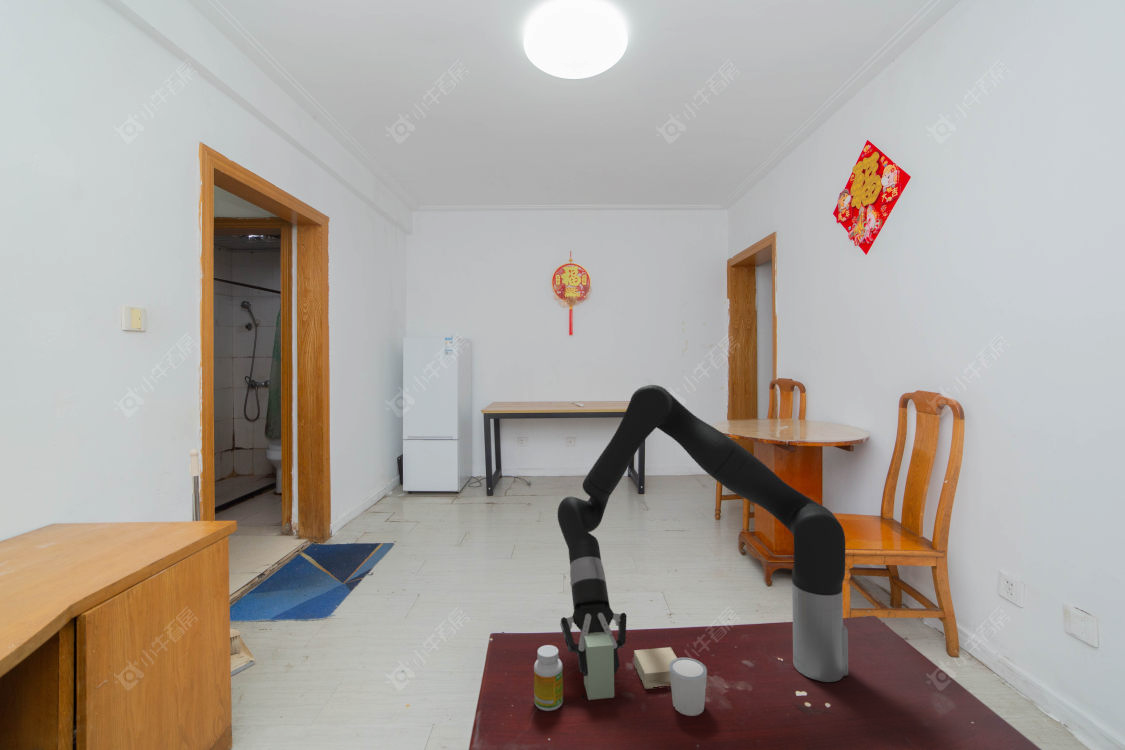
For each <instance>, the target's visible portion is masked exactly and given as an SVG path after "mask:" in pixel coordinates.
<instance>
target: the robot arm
mask: <svg viewBox="0 0 1125 750" xmlns="http://www.w3.org/2000/svg"><path fill="white" fill-rule="evenodd" d="M655 429H658V430H660V431H662V432H663V433H664V434H666V435H667V436H669V437H671V439H673V440H674V441H675V442H677V443H678V445H680V446H681V447H682V448H683V449H684V451H686V452H687V454H688V455H689V456H690V457H691V458H692V460H694V461H695V462H696V463H697V465H698V466H699V467H700V468H701V469H702V470H703V471H705V472H706V473H707V474H708V475H709V476H711V477H712V478H713V479H714V480H716V481H717V482H718V483H719V484H721V485H722V486H723V487H725V488H726V489H727V490H729V491H731V493H734V494H736V495H738V496H739V497H742V498H744V499H746V500H747V501H750V502H751V503H754V504H756V505H758V506H759V507H762V508H763V509H764V510H766V511H767V512H768V513H769V514H771V515H772V516H773V517H774V518H776V519H777V520H778V521H779V522H780V523H781V524H782V525H783V526H784V527H785V528H786V529H787V530H788V531H790V533H791V535H793V568H792V571H791V579H792V580H791V581H792V583H791V584H792V585H791V586H792V589H791V591H792V595H791V596H792V600H791V601H792V663H793V666H794V668H795V669H796V670H797V671H798V672H799V673H800V674H802V675H803V676H805V677H807V678H809V679H812V680H815V681H819V682H824V683H832V682H833V683H834V682H835V683H836V682H838V681H841V679H843V677H845V676H849V636H848V635H849V630H848V627H847V626H846V625H844V610H843V608H844V606H843V602H844V601H843V595H844V593H843V590H844V589H843V588H844V587H843V586H844V585H843V583H844V580H845V576H846V535H845V531H844V527H843V526H842V524H841V523H840V521H839V520H838V519H837V517H836V516H835V514H834V513H833V512H832V511H830V510H829V509H828V508H827V507H825V506H823V505H822V504H820V503H818V502H817V501H815V500H814V499H812V498H810V497H808V496H807V495H804V493H802V492H800V491H798V490H797V489H795V488H793V486H790V485H789V484H787V483H786V482H785V481H784V480H783V479H781V478H780V477H779V476H778V475H777V474H776V473H775V472H774V471H772V470H771V468H769V467H768V466H767V465H766V464H764V462H763V461H761V460H760V459H758V458H757V457H756V456H755V455H754V454H752V453H751V452H750V451H748V450H747V449H746V448H744V447H743V446H741V445H740V444H739V443H737V442H736V441H735V440H733V439H732V438H730V437H729V436H727V435H726V434H725V433H723V432H721V430H718V429H717V428H715V427H714V426H712V425H710V424H708V423H707V422H705V421H704V420H702V419H700V418H699V417H697V416H696V415H694V414H693V413H692V412H691V411H690V410H689V409H688V408H686V407H685V406H684V405H683V404H682V403H680V401H679V400H678V399H676V398H675V396H673V395H672V394H671V393H670V392H669V391H668V390H667V389H666V388H664V387H663V386H660V385H657V384H648V385H643V386H641V387H640V388H638V389H636V390H635V391H634V393H633V394H632V395H631V397H630V401H629V403H628V406H627V408H626V410H625V412H624V415H623V417H622V419H621V421H620V423H619V426H618V428H617V429H616V431H615V433H614V434H613V436H612V438H611V439H610V441H609V443H608V444H607V445H606V447H605V448H604V449H603V451H602V453H601V454H600V456H599V457H598V459H597V460H596V462H595V463H594V465H593V466H592V467H591V469H590V470H589V472H588V473H587V475H586V476H585V478H584V480H583V482H582V489H583V491H584V492H585V493H586V495H588V496H589V498H588V500H585V499H582V498H577V497H576V496H566V497H564V498H563V499H562V500H561V502H560V503H559V505H558V508H557V521H558V525H559V527H560V531H561V533H562V535H563V539H564V541H565V543H566V546H567V550H568V558H569V566H570V567H569V568H570V569H569V578H570V581H569V582H570V583H569V584H570V586H571V587H570V589H571V594H572V595H571V596H572V604H573V605H572V606H573V613H572V616H570V617H564V616H563V617H561V618H560V624H559V625H560V628H561V631H562V635H563V637H564V642H565V644H566V647H567V650H568V652H569V653H575V654H576V655H577V659H578V669H579V672H580V674H583V677H584V676H587V675H588V668H587V659H586V652H585V650H584V649H585V642H584V636H587V635H588V633H594V632H605V634H609V635H610V638H611V640H612V642H613V645H614V675H615V674H617V672H618V670H619V668H620V666H621V665H620V660H619V653H618V650H619V649H622V648H623V647H624V646H625V644H626V642H627V641H626V637H627V617H628V616H627V614H626V613H625V612H622V613H615V612H614V611H613V610H612V609H611V605H610V600H609V593H608V587H607V581H606V573H605V569H604V565H603V562H602V557H601V550H600V545H599V541H598V539H597V537H596V536H595V535H592V534H591V532H593V531H594V530H596V529H597V528H598V527H599V526H600V524H601V523H602V520H603V518H604V513H605V510H606V507H607V505H608V502H609V498H610V496H611V495H612V493H613V492H614V490H615V489H616V487H617V486H618V485H619V483H620V481H621V480H622V478H623V476H624V475H625V473H626V471H627V470H628V467H629V466H630V464H631V462H632V460H633V458H634V456H635V455H636V453H637V451H638V450H639V449H640V447H641V445H642V444H643V442H645V441H646V439H648V437H649V436H650V435H651V433H652V432H654V431H655ZM612 621H614V623H615V626H617V627H618V631H617V640H616V639H615V637H614V636H613V632H612V629H611V628H610V625H611V623H612ZM573 623H574V624H575V625H574V626H576V628H578V630H579V631H580V636H579V642H578V643H575V640H574V638H573V637H574V636H573V634H572V631H571V630H572V628H573Z"/></svg>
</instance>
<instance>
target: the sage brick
mask: <svg viewBox="0 0 1125 750" xmlns="http://www.w3.org/2000/svg"><path fill="white" fill-rule="evenodd" d="M584 642H585V649H584V650H585V652H586V659H587V668H588V675H587V676H584V675H583V685H584V688H585V691H586V696H587V699H588V701H591V700H600V699H610V698H611V699H612V698H615V674H614V645H613V642H612V640H611V638H610V635H609V634H605V632H594V633H588V635H587V636H584Z"/></svg>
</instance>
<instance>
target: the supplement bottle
mask: <svg viewBox="0 0 1125 750" xmlns="http://www.w3.org/2000/svg"><path fill="white" fill-rule="evenodd" d="M536 657H537V659H536V661H535V662H534V665H533V680H534V681H533V686H534V687H533V688H534V689H533V691H534V692H533V693H534V694H533V695H534V698H533V700H534V704H535V706H536V707H537V708H538V709H539V710H542V711H546V712H550V711H551V712H552V711H555V710H558V709H559V708H560V707H561V706H562V704H563V702H564V682H563V681H564V679H563V677H564V675H563V673H564V672H563V669H564V667H563V662H562V661H561V659H560V657H559V649H558V647H556V646H555V645H552V644H547V645H546V644H545V645H542V646H540V647H539V648H538V649H537V656H536Z"/></svg>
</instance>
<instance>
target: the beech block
mask: <svg viewBox="0 0 1125 750" xmlns="http://www.w3.org/2000/svg"><path fill="white" fill-rule="evenodd" d="M677 658H678V657H677V656H676V654H675V653H674V651H673V648H672V647H671V646H669V647H668V646H667V647H658V648H656V647H655V648H646V649H637V650H636V649H635V650H633V665H634V668H635V669H637V670H636V671H637V674H638V676H639V679H640V681H641V680H642V681H641V683H642V684H643V688H644V690H646V689H647V690H648V689H654V688H653V687H658V686H665V685H671V680H670V671H669V664H670V662H671V661H673V660H674V659H677Z"/></svg>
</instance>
